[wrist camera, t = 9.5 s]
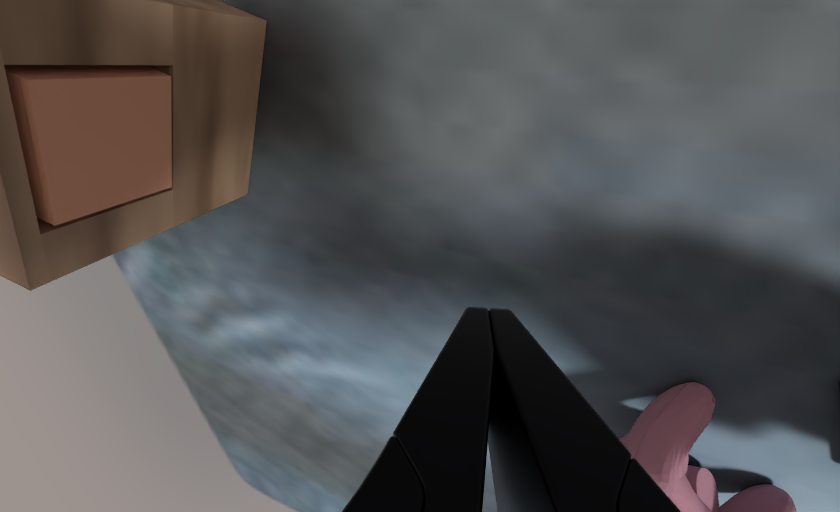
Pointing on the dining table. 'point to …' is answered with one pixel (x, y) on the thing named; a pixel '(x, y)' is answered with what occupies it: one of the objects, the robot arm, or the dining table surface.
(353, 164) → the dining table surface
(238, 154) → the sleeve block
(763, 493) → the pink rounded piece
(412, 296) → the dining table surface
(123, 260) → the dining table surface
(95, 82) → the peg
